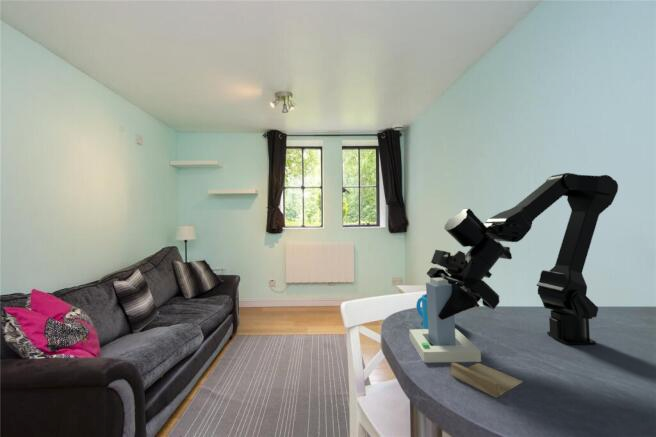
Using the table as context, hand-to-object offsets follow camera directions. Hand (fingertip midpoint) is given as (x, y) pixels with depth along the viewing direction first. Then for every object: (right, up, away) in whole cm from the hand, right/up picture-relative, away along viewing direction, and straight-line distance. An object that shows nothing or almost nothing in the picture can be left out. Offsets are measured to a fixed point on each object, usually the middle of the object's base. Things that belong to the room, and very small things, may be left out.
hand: (434, 314), depth 62 cm
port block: (+2, -8, 0) cm, 8 cm away
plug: (+2, -6, 0) cm, 6 cm away
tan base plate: (+5, -8, -12) cm, 15 cm away
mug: (+6, -9, +17) cm, 20 cm away
